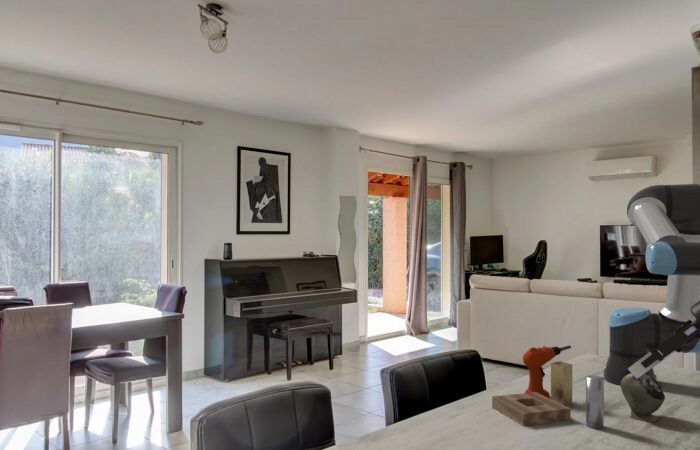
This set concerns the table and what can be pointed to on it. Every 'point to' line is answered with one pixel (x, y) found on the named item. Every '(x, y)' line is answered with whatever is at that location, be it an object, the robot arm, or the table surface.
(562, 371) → the light brown rectangular block
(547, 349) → the toy drill
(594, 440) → the table surface
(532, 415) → the socket block
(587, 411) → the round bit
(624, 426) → the table surface
